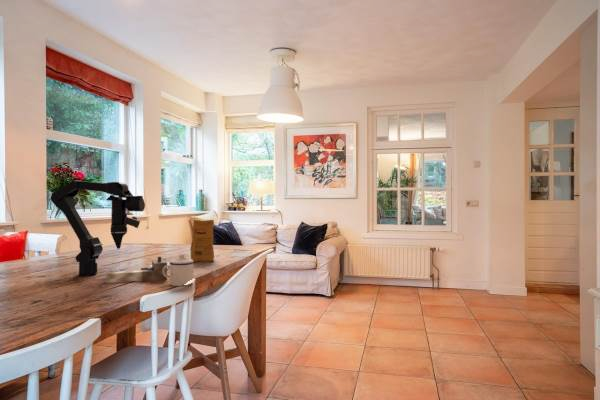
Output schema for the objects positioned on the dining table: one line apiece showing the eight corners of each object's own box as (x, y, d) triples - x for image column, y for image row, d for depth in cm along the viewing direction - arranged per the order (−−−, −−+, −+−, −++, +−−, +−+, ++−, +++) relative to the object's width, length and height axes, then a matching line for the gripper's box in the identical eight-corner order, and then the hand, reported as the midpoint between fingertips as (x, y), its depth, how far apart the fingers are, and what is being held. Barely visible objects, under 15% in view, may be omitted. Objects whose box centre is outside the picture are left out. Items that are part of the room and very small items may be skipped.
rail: (105, 283, 152) (105, 271, 152) (105, 281, 156) (105, 269, 156) (151, 279, 160) (151, 268, 160) (150, 277, 164) (150, 266, 164)
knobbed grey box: (142, 281, 156) (142, 259, 156) (140, 277, 164) (141, 256, 164) (166, 279, 160) (167, 257, 160) (164, 275, 168) (164, 254, 168)
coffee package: (191, 259, 212) (191, 219, 212) (214, 259, 214) (215, 219, 214) (189, 262, 202) (189, 220, 202) (213, 262, 204) (214, 220, 204)
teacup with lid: (196, 281, 157) (196, 252, 157) (189, 286, 148) (190, 256, 148) (166, 281, 157) (166, 252, 157) (158, 286, 148) (158, 255, 148)
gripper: (140, 211, 163) (140, 249, 163) (137, 210, 180) (137, 244, 180) (110, 212, 158) (110, 250, 158) (111, 210, 175) (110, 245, 175)
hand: (118, 247), depth 168 cm, fingers open, 9 cm apart
